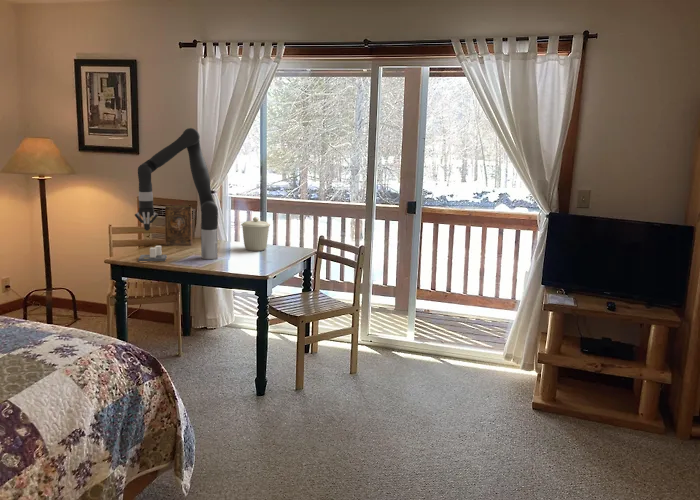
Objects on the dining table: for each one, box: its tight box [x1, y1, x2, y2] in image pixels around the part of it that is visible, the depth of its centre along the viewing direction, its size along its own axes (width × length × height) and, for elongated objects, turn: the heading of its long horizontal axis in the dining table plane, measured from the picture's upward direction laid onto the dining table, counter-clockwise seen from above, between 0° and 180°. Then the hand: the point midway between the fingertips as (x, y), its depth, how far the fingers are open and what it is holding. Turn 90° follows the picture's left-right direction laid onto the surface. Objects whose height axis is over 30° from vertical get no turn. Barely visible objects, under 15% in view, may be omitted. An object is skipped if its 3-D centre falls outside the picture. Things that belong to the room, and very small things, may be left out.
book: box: [164, 205, 193, 247], centre depth 360 cm, size 16×6×25 cm, turn 105°
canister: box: [240, 216, 271, 252], centre depth 356 cm, size 18×18×21 cm
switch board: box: [138, 254, 168, 262], centre depth 317 cm, size 14×10×2 cm
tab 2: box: [154, 245, 163, 255], centre depth 319 cm, size 3×4×5 cm
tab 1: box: [149, 247, 156, 258], centre depth 314 cm, size 3×4×5 cm
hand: (147, 230), depth 316 cm, fingers closed
